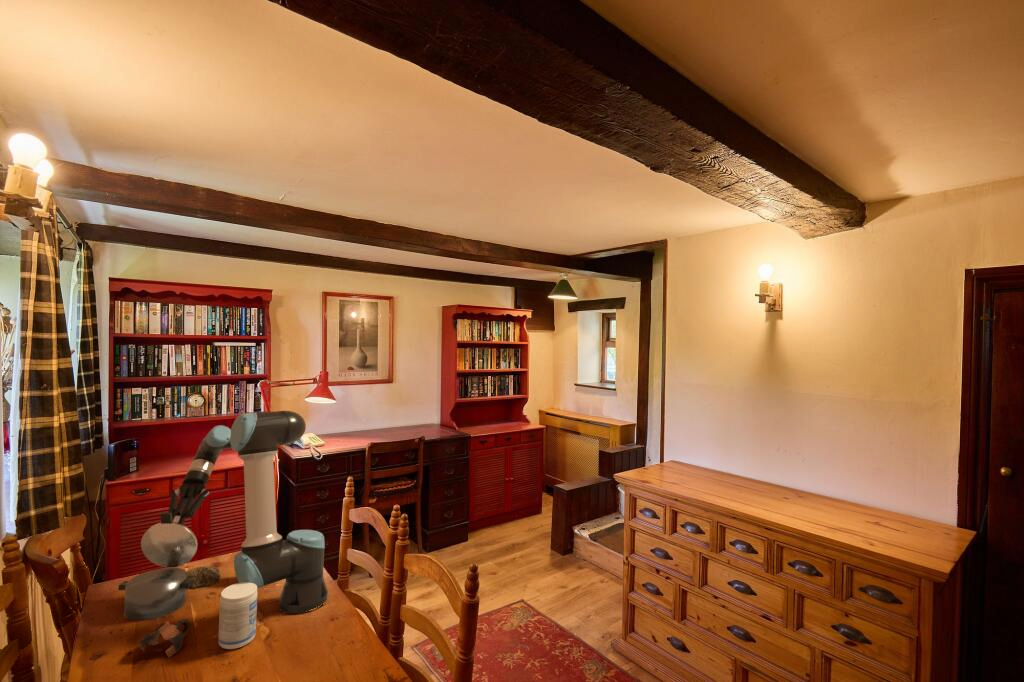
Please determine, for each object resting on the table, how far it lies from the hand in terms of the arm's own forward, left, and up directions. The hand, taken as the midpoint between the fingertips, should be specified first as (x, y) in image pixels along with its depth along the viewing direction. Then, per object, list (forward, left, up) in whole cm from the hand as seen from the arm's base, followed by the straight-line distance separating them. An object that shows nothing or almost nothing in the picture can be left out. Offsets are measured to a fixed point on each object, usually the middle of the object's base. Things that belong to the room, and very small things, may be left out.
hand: (170, 535), depth 164 cm
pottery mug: (-35, +4, -20) cm, 41 cm away
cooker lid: (-3, +1, -1) cm, 3 cm away
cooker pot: (-7, +4, -20) cm, 21 cm away
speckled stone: (+5, -10, -20) cm, 23 cm away
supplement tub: (-43, -12, -20) cm, 49 cm away
